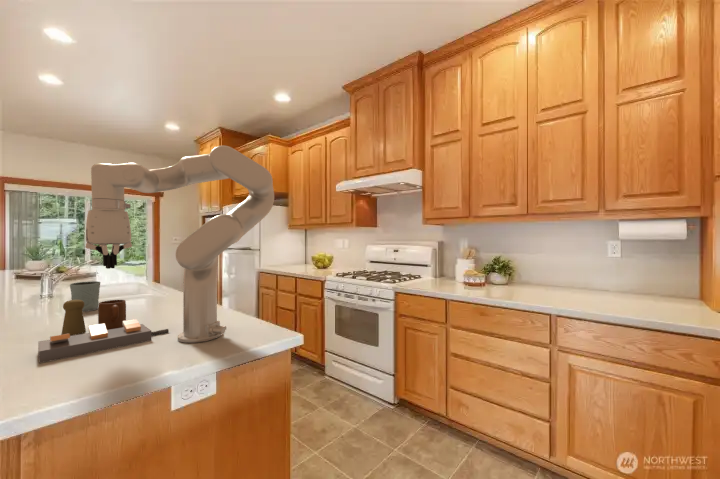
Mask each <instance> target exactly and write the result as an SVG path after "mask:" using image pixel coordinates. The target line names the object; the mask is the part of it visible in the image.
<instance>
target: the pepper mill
mask: <svg viewBox="0 0 720 479" xmlns="http://www.w3.org/2000/svg"><path fill="white" fill-rule="evenodd" d="M83 307H84V302H83V301H82V300H72V299H70V300H67V301H65V302H63V305H62V308H63V310H64V311H65V313H64V316H63V317H64V318H63V323H62V329H61V334H60V335H63V334H70V336H74V335H80V334H86V332H87V329H86V323H85V319H84V318H85V317H84V314H83V313H84V312H83V311H82V309H83Z"/></svg>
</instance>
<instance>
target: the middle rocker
mask: <svg viewBox="0 0 720 479" xmlns="http://www.w3.org/2000/svg"><path fill="white" fill-rule="evenodd" d="M88 333H90V337H91V339H97V338H102V337H108V332H107V329H106V326H105V323H104V324H98V323H97V324H93V325H92V324H91V325H88Z"/></svg>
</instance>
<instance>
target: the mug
mask: <svg viewBox="0 0 720 479" xmlns="http://www.w3.org/2000/svg"><path fill="white" fill-rule="evenodd" d="M97 310H98V311H97V313H98V315H97V316H98V317H97V320H98V321H97V324H104V323H105V326H106V329H107V330H110V329H116V328H122V327H123V325H122V322H123V321H127V302H126V300H125V299H112V300H111V299H110V300H105V301H100V302H99V304H98V309H97Z"/></svg>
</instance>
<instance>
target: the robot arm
mask: <svg viewBox="0 0 720 479" xmlns="http://www.w3.org/2000/svg"><path fill="white" fill-rule="evenodd" d="M90 169H91V170H90V174H91V175H90V176H91V177H90V178H91V181H90V182H91V184H90V185H91V210H90V209H89V210H88V211H87V216H86V221H85V222H86V223H85V224H86V225H85V241H86V244H85V249H88V250H94V251H97V252H98V253H99V254H101V256H102V265H103V267H105V269H115V267H116V266H117V265H118V255H119V253H121V251H122V250H125V249H129V248H132V247H133V244H132V232H131V229H132V228H131V224H130V223H131V222H130V218H129V214H128V211H126V209H131V203H127V202H126V201H125V189H126V188H127V189H131V190H134V191H137V192H140V193H142V194H143V193H144V194H154V193H159V192H165V191H173V190H178V189H180V188H185V187H188V186H191V185H195V184H202V183H207V182H215V181H219V180H220V181H222V180H227V179H230V180H232V181H234V182H235V183H237V184H238V185H241V186H242V187H244V188H245V189H247V191H248V196H247V197H246V199H244V200H243V201H242V202H240V203H239V204H238V205H236V206H235V207H234V208H233V209H231V210H230V211H229V212H227V213H223V214H218V215H215V216H214V217H212V218H210V219H208V221H206V222H205V223H203V224H202V225H201V226H200V227H199V228H197V229H195V231H193V232H192V233H191V234H190V235H189V236H187V237H186V238H184V239H183V240H181V242H180V243H179V244H178V246H177V247H176V250H175V260H176V261H177V263H178V265H179V266H181V267H182V268H183V269H184V270H183V293H182V294H183V301H182V303H183V305H182V307H183V310H182V311H183V312H182V314H183V318H182V319H183V321H182V322H183V324H182V325H183V326H182V327H183V329H182V331H183V332H180V333H179V334H178V335H177V341H178V342H180V343H186V344H188V343H189V344H194V343H203V342H208V341H211V340H215V339H217V338H219V337H221V336H222V335H223V334H225V332H226V330H227V326H226V325H221V322H220V321H219V320H218V298H217V297H218V265H219V264H218V263H219V255H221V254H222V253H223V252H225V251H226V250H227V249H229V247H231V246H233V245H235V244H236V243H237V242H239V241H240V240H241V239H242V238H243V237H244V236H245V235H246V234H247V233H248V232H249V231H251V230H252V229H253V228H254V227H256V225H258V224H259V223H260V222H261V221H262V220H263V219H265V217H266V216H267V215H268V214H269V213H270V212H271V210H272V208H273V205H274V201H275V191H274V184H273V183H274V181H273V176H272V174H271V173H270V171H269V170H268V169H267V168H266V167H264V166H263V165H262V164H260V163H258V162H257V161H255V160H253V159H251V158H249V157H248V156H246V155H245V154H243V153H241V152H240V151H238V150H237V149H235V148H233V147H232V146H228V145H218V146H214V148H213V149H211V151H210V152H209V153H206V154H196V155H188V156H183V157H182V158H180V160H179V161H178V162H177V163H175V164H173V165H171V166H167V167H162V168H154V169H149V168H147V167H145V166H143V165H141V164H139V163H136V162H128V163H127V162H125V163H118V164H117V163H116V164H115V163H114V164H112V163H103V162H102V163H101V162H99V163H95V164H93V165H92V166H91V168H90ZM107 245H112V246H111V252H109V250H108V246H107Z"/></svg>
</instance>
